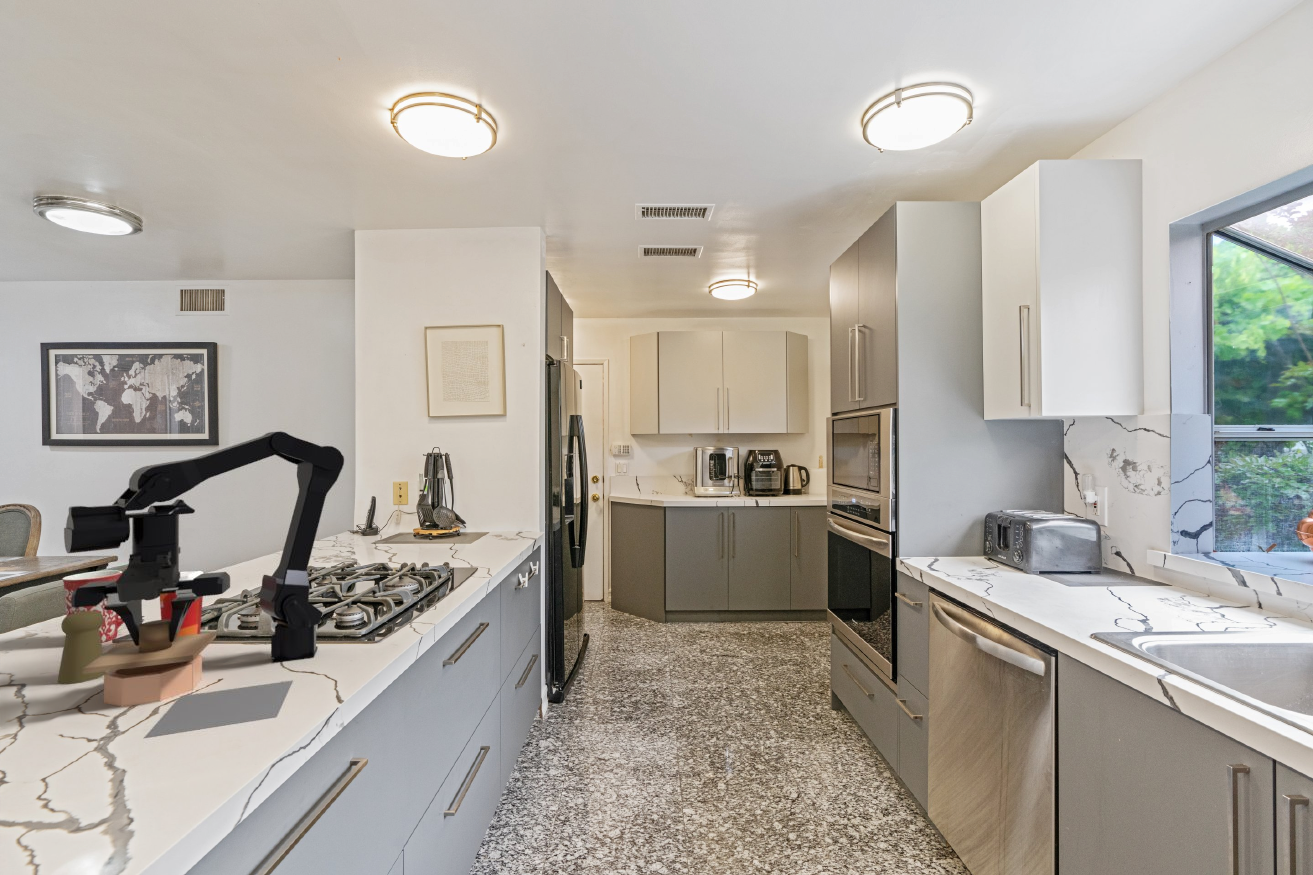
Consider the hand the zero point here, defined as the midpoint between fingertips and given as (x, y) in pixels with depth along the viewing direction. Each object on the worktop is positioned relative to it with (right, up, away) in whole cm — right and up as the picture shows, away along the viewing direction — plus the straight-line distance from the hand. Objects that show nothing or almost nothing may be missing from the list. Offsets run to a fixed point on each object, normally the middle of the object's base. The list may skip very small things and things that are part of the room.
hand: (155, 643), depth 96 cm
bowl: (0, -8, 0) cm, 8 cm away
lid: (0, -2, 0) cm, 2 cm away
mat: (+16, -8, -6) cm, 19 cm away
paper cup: (-15, -9, +24) cm, 29 cm away
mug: (-34, -9, +29) cm, 45 cm away
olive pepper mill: (-18, -8, +7) cm, 21 cm away
